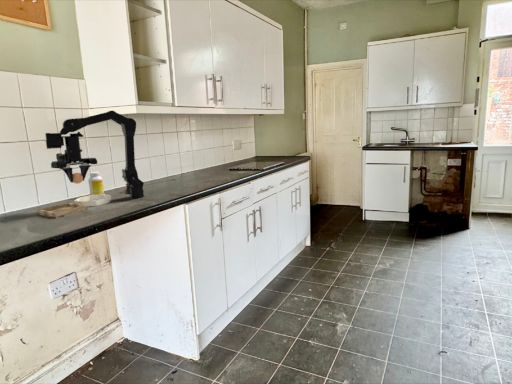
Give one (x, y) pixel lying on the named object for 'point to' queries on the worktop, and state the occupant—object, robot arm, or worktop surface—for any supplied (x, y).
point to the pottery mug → (127, 189)
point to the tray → (61, 210)
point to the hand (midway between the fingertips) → (77, 181)
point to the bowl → (93, 200)
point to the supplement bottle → (95, 184)
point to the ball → (77, 178)
